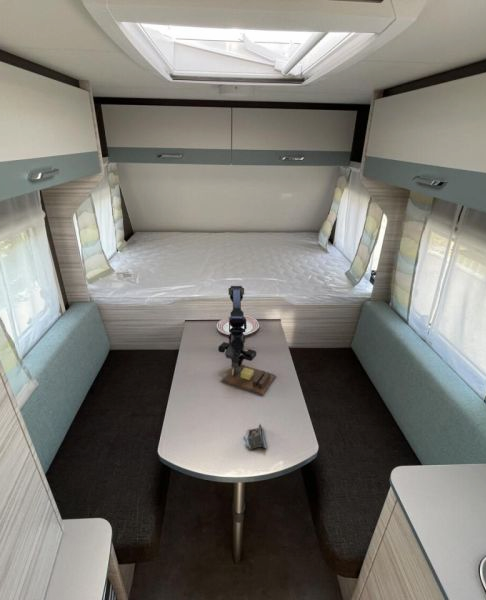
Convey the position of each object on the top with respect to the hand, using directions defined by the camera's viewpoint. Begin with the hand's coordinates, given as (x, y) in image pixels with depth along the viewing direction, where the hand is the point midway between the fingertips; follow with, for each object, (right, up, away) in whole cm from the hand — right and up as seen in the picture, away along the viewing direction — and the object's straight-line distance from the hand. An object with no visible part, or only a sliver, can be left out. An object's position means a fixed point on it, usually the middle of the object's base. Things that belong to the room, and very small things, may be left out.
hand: (237, 365), depth 164 cm
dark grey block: (0, -4, +2) cm, 4 cm away
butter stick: (+5, -5, -1) cm, 7 cm away
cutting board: (+6, -7, 0) cm, 9 cm away
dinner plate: (0, +14, +48) cm, 50 cm away
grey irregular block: (+7, -22, -35) cm, 42 cm away
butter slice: (-1, -4, +2) cm, 5 cm away
